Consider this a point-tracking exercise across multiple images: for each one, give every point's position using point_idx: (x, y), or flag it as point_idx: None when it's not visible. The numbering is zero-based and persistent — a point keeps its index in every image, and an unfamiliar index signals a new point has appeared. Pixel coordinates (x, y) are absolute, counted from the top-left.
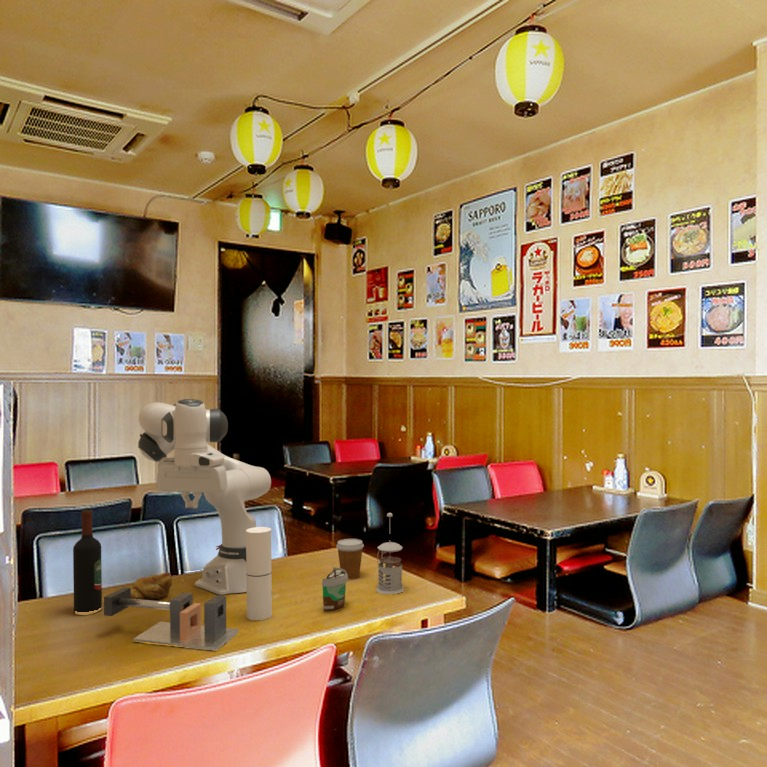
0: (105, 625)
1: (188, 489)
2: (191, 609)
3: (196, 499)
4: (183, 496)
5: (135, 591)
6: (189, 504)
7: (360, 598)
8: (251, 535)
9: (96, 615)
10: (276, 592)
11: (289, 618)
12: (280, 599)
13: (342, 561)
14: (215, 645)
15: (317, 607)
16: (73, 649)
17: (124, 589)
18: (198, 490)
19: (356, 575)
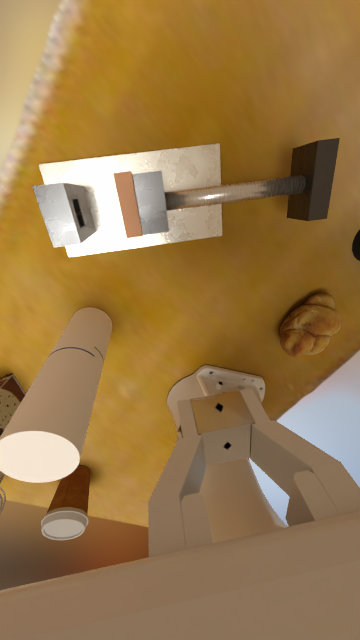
0: None
1: (279, 577)
2: (119, 199)
3: (167, 466)
4: (311, 459)
5: (324, 302)
6: (224, 411)
7: None
8: (31, 423)
9: (349, 229)
10: (132, 400)
11: (39, 334)
12: (108, 384)
13: (73, 489)
14: (48, 174)
15: None
16: (309, 67)
17: (316, 205)
18: (99, 604)
19: None
